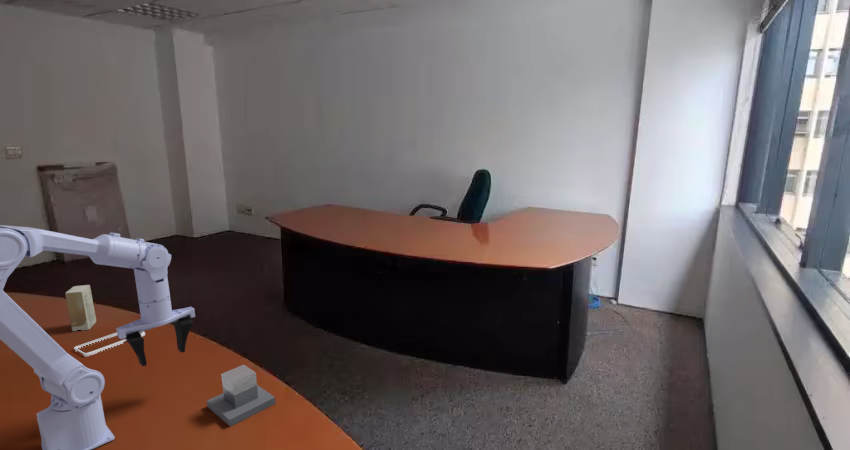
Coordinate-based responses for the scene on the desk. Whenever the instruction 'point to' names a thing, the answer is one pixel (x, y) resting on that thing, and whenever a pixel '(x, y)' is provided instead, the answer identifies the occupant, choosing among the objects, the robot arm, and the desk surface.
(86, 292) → the skincare box
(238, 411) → the stand
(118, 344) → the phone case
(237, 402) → the block
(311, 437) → the desk surface
